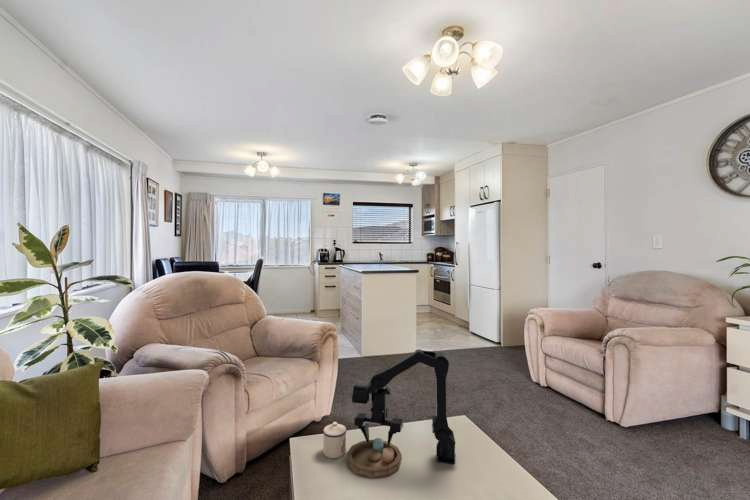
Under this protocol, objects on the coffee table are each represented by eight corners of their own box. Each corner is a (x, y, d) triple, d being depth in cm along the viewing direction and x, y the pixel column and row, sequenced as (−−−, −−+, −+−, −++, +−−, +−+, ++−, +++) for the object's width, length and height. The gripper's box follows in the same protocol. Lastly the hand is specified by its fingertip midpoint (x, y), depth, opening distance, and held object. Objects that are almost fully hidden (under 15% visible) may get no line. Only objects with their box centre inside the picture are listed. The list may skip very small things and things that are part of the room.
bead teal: (383, 448, 140) (383, 438, 140) (382, 454, 136) (382, 444, 136) (373, 447, 140) (373, 437, 140) (372, 453, 136) (372, 443, 136)
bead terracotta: (394, 459, 133) (394, 448, 133) (392, 465, 129) (392, 454, 129) (384, 457, 134) (384, 446, 134) (381, 463, 130) (381, 452, 130)
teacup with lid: (346, 458, 134) (347, 427, 134) (322, 459, 133) (322, 429, 133) (345, 441, 146) (345, 413, 146) (323, 443, 145) (323, 414, 145)
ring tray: (405, 451, 140) (405, 444, 140) (393, 482, 120) (393, 474, 120) (357, 442, 145) (357, 436, 145) (339, 471, 126) (339, 464, 126)
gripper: (406, 399, 143) (405, 437, 143) (362, 393, 149) (362, 430, 149) (400, 410, 133) (399, 452, 133) (353, 404, 138) (353, 444, 138)
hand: (378, 444), depth 138 cm, fingers open, 8 cm apart
